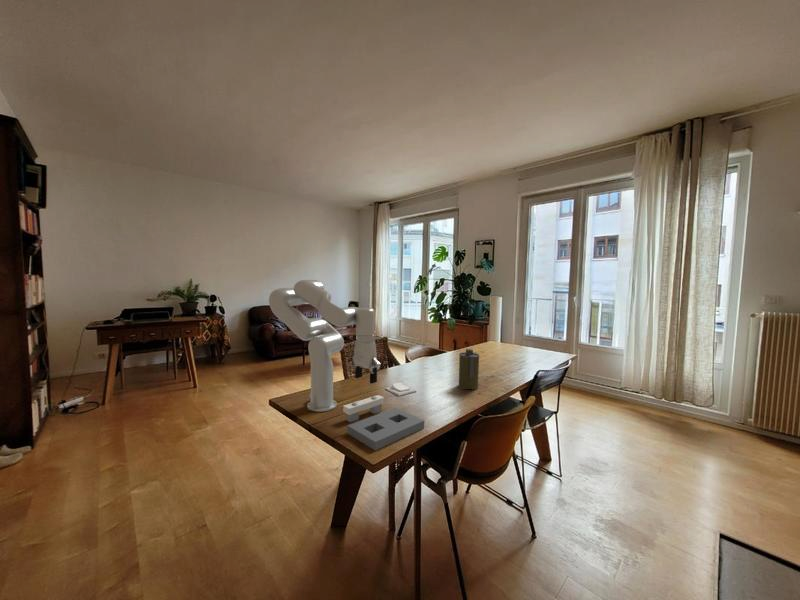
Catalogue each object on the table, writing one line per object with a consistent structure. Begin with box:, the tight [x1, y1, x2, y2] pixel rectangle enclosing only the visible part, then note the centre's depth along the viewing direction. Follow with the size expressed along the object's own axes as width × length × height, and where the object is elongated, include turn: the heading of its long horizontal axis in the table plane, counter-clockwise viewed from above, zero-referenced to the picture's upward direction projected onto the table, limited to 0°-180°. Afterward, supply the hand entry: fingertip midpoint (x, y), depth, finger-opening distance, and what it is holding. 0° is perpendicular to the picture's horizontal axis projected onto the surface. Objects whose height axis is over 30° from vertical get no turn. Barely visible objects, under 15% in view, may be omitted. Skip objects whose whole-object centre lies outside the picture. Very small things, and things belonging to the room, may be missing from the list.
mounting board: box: [346, 407, 425, 451], centre depth 120 cm, size 16×24×3 cm, turn 134°
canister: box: [458, 348, 480, 391], centre depth 170 cm, size 11×10×20 cm
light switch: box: [384, 382, 417, 397], centre depth 164 cm, size 11×4×13 cm
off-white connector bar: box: [342, 394, 385, 424], centre depth 133 cm, size 4×18×6 cm, turn 134°
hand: (365, 380), depth 132 cm, fingers open, 9 cm apart
